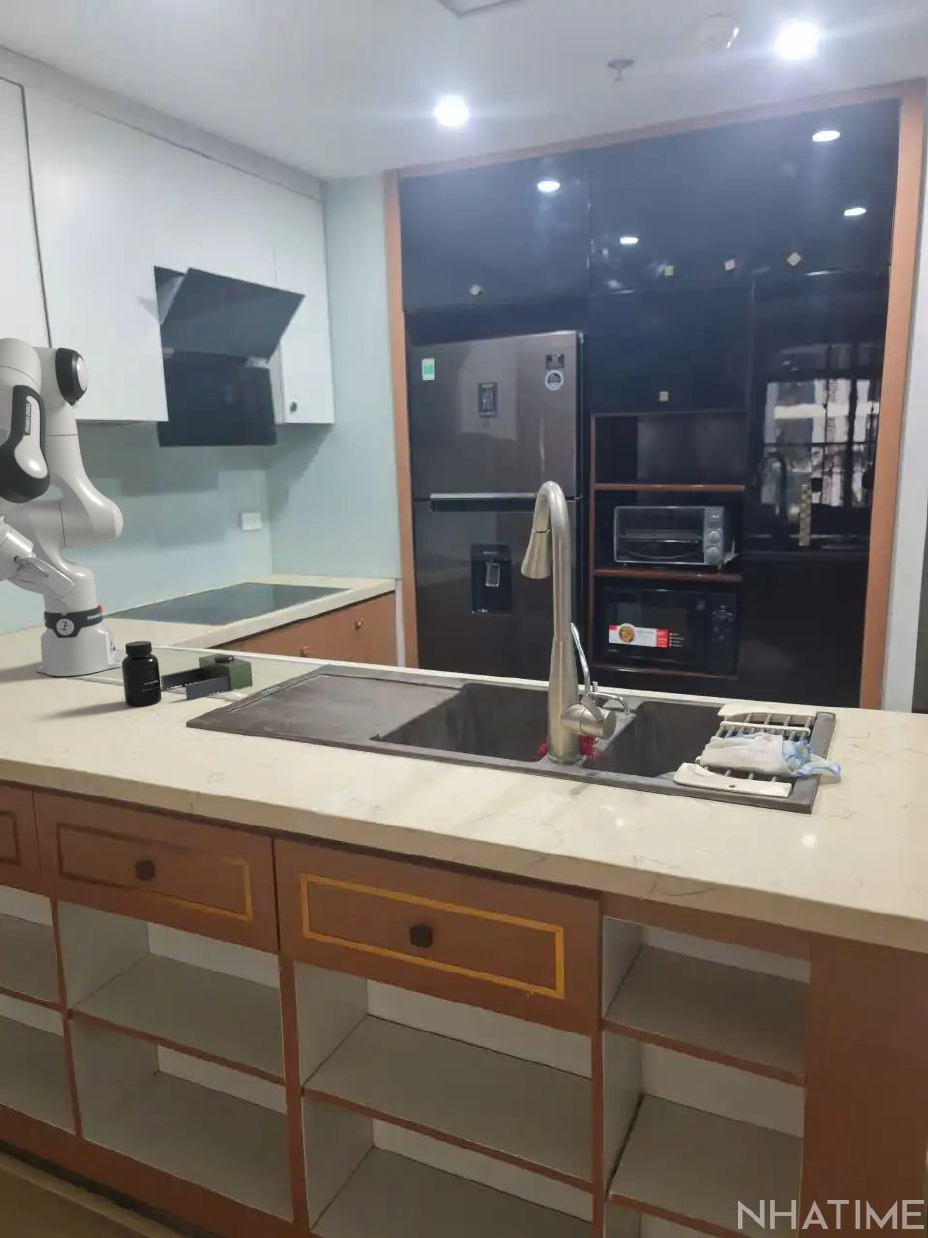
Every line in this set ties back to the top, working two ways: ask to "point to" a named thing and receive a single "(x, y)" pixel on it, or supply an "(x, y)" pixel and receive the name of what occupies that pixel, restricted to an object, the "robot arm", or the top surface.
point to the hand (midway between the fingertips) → (71, 603)
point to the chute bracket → (211, 676)
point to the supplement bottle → (141, 675)
